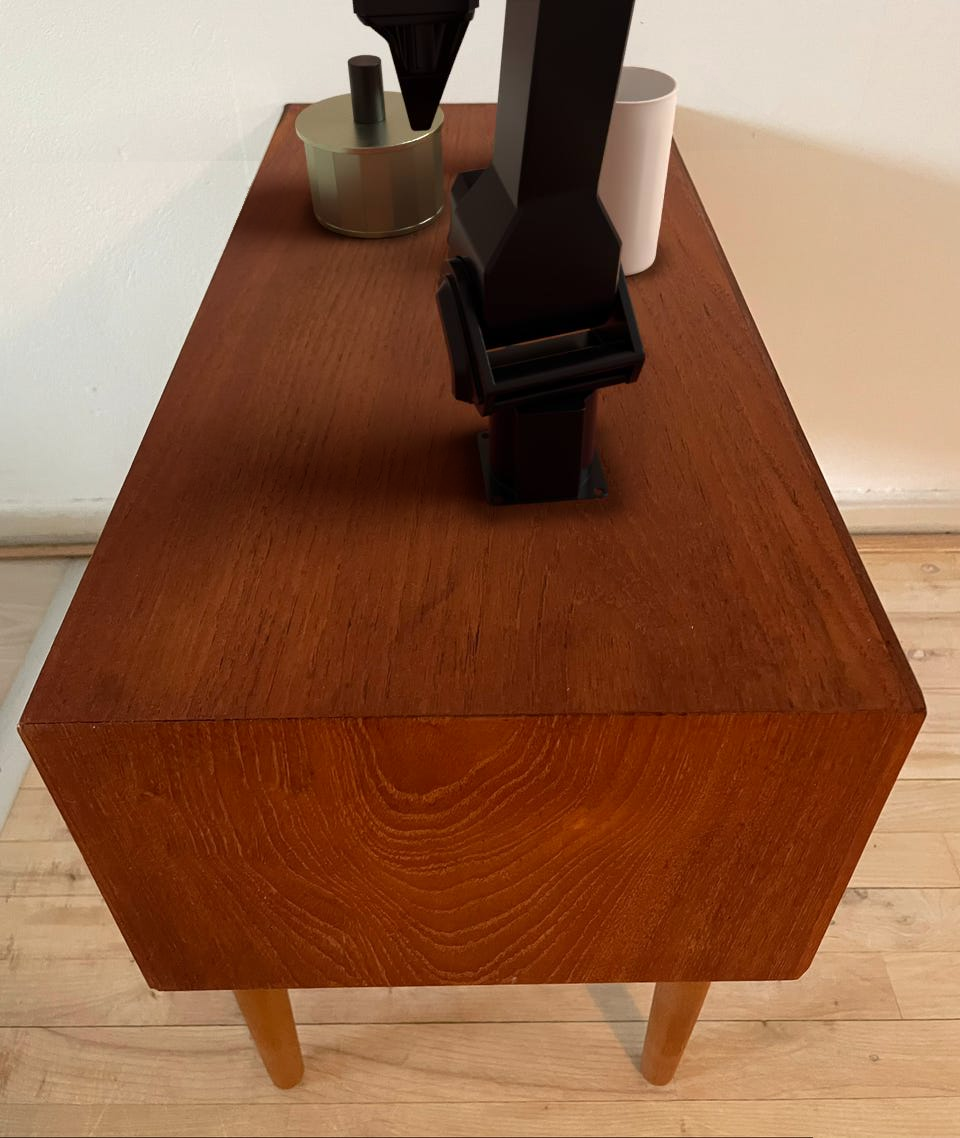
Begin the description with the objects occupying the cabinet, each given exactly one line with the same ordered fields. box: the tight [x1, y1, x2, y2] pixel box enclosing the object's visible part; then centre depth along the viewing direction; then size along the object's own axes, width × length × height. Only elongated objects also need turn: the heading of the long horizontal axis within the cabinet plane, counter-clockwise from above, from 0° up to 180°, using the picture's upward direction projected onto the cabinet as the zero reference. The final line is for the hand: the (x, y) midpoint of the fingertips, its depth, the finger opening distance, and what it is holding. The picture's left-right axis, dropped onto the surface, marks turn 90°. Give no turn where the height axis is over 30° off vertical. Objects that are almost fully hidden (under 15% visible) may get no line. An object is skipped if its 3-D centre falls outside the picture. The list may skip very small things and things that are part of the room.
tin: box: [303, 130, 445, 239], centre depth 77 cm, size 10×10×6 cm
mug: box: [599, 64, 680, 277], centre depth 69 cm, size 10×7×12 cm, turn 86°
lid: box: [294, 54, 445, 155], centre depth 73 cm, size 11×11×5 cm
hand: (416, 100), depth 61 cm, fingers open, 9 cm apart
